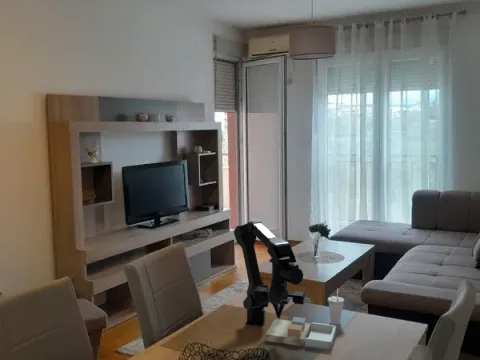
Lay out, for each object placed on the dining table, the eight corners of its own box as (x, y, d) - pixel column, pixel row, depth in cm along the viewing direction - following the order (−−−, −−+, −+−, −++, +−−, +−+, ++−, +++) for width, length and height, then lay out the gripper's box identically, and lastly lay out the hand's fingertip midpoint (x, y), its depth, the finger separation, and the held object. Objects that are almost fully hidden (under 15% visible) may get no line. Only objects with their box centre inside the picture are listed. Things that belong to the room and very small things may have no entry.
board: (265, 340, 180) (265, 334, 180) (275, 325, 194) (275, 318, 194) (303, 346, 176) (303, 339, 176) (310, 329, 190) (311, 323, 190)
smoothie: (343, 326, 193) (344, 291, 192) (326, 325, 195) (327, 290, 193) (343, 320, 200) (344, 286, 198) (327, 318, 201) (328, 285, 199)
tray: (305, 346, 176) (305, 338, 175) (312, 329, 190) (312, 322, 190) (330, 350, 173) (331, 342, 173) (336, 333, 187) (336, 325, 187)
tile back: (291, 327, 186) (291, 321, 185) (294, 323, 190) (294, 316, 190) (303, 329, 184) (303, 322, 184) (305, 324, 189) (305, 318, 188)
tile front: (287, 335, 179) (287, 328, 179) (290, 330, 183) (290, 323, 183) (299, 336, 178) (300, 330, 177) (302, 331, 182) (302, 325, 182)
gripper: (248, 280, 175) (248, 323, 177) (301, 286, 170) (300, 330, 171) (257, 271, 186) (256, 311, 188) (306, 276, 180) (305, 318, 182)
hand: (278, 317), depth 182 cm, fingers closed
